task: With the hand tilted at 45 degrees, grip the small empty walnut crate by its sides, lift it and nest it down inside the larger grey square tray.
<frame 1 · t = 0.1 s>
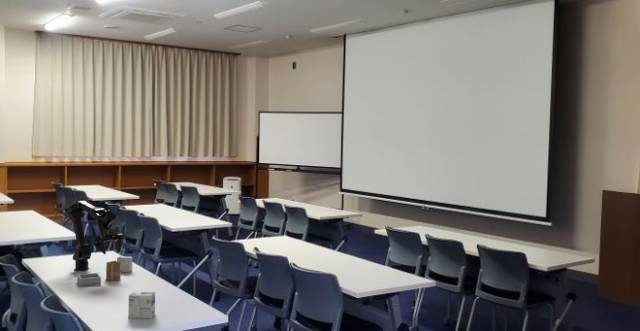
hand: (112, 252, 323), 15 cm above the table, tool tilted 35°, fingers open, 9 cm apart
grey square tray: (89, 283, 313), on the table
medicine box: (124, 271, 342), on the table
light bulb box: (141, 316, 260), on the table
small crate: (113, 279, 322), on the table
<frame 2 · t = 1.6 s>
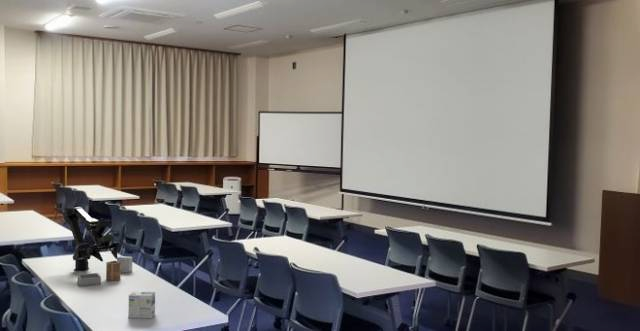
hand: (109, 259, 324), 11 cm above the table, tool tilted 45°, fingers open, 9 cm apart
nothing on the table moved.
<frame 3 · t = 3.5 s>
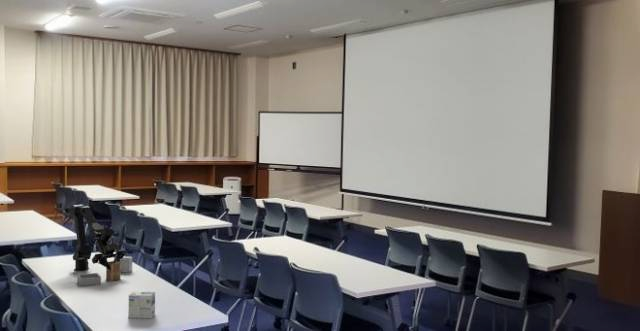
hand: (114, 268, 321), 7 cm above the table, tool tilted 45°, fingers closed on small crate, 5 cm apart
small crate: (113, 279, 322), on the table, touching gripper
everything else where it was.
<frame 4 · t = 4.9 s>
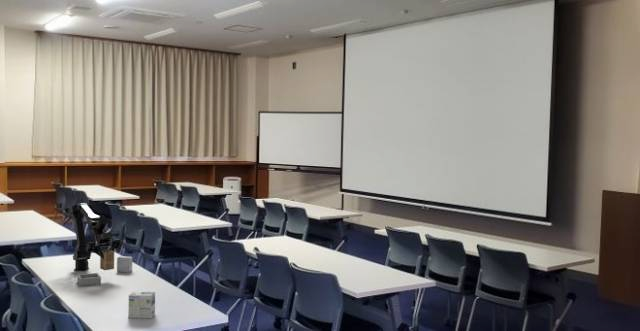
hand: (108, 257, 317), 13 cm above the table, tool tilted 45°, fingers closed on small crate, 5 cm apart
small crate: (107, 268, 319), point 7 cm above the table, touching gripper
everything else where it was.
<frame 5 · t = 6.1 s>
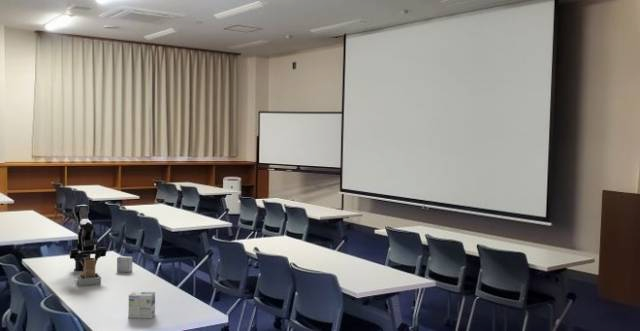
hand: (89, 265, 311), 10 cm above the table, tool tilted 45°, fingers closed on small crate, 5 cm apart
small crate: (89, 277, 313), point 3 cm above the table, touching gripper
everything else where it was.
when the fingers open (9 cm above the table, at t = 6.7 s): small crate drops 1 cm, resting on grey square tray.
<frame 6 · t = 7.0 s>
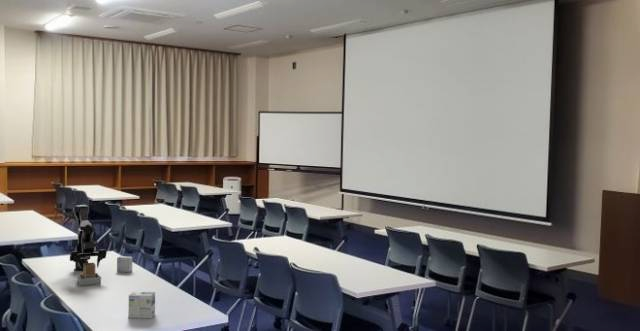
hand: (89, 267, 311), 9 cm above the table, tool tilted 45°, fingers open, 8 cm apart
small crate: (89, 281, 313), point 1 cm above the table, touching grey square tray
everything else where it was.
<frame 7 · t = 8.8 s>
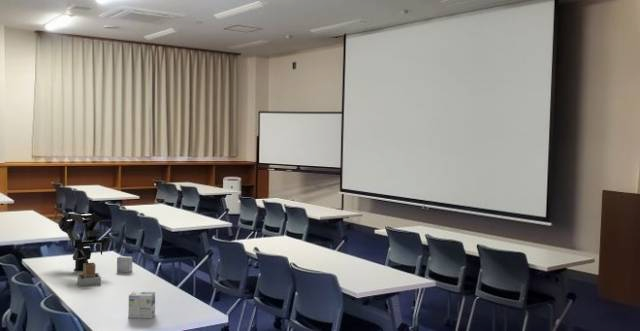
hand: (93, 254, 325), 13 cm above the table, tool tilted 45°, fingers open, 9 cm apart
nothing on the table moved.
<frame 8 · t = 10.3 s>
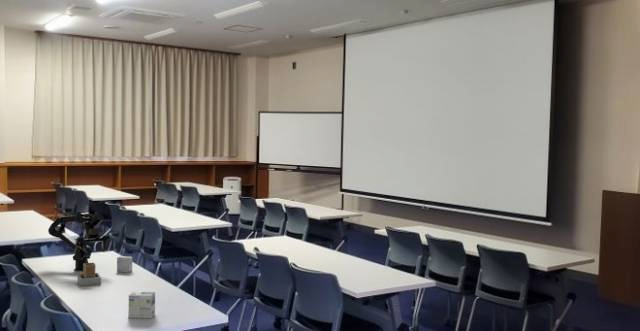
hand: (95, 252, 329), 14 cm above the table, tool tilted 45°, fingers open, 9 cm apart
nothing on the table moved.
at the end: small crate inside the target area on the grey square tray (0.0 cm from its centre), point 0.6 cm above the grey square tray's base; small crate tilted 0°; the gripper is holding nothing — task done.
